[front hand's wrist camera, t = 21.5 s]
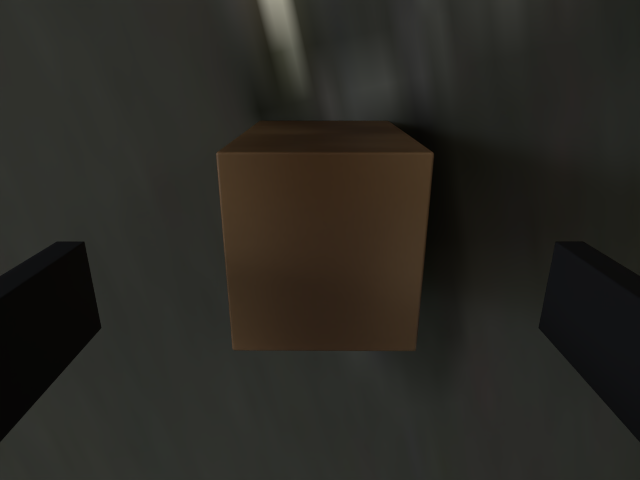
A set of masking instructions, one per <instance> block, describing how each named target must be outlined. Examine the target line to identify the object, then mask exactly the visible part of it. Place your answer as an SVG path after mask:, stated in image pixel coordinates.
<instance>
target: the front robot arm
mask: <svg viewBox="0 0 640 480" xmlns="http://www.w3.org/2000/svg"><path fill="white" fill-rule="evenodd" d="M100 329H101V323H100V318H99V313H98V308H97V303H96V298H95V293H94V288H93V283H92V278H91V273H90V268H89V263H88V258H87V253H86V248H85V243H84V242H55V243H54V244H52V245H51V246H49V247H47V248H46V249H44V250H42V251H41V252H39V253H37V254H36V255H34V256H32V257H31V258H29V259H28V260H26V261H24V262H23V263H21V264H19V265H18V266H16V267H14V268H13V269H11V270H10V271H8V272H6V273H5V274H3V275H1V276H0V442H1V440H2V439H3V438H4V437H5V436H6V435H7V434H8V433H9V431H10V430H11V429H12V428H13V427H14V426H15V425H16V424H17V422H18V421H19V420H20V419H21V418H22V417H23V416H24V415H25V413H26V412H27V411H28V410H29V409H30V408H31V407H32V406H33V404H34V403H35V402H36V401H37V400H38V399H39V398H40V396H41V395H42V394H43V393H44V392H45V391H46V390H47V389H48V387H49V386H50V385H51V384H52V383H53V382H54V381H55V380H56V378H57V377H58V376H59V375H60V374H61V373H62V372H63V371H64V369H65V368H66V367H67V366H68V365H69V364H70V363H71V362H72V360H73V359H74V358H75V357H76V356H77V355H78V354H79V352H80V351H81V350H82V349H83V348H84V347H85V346H86V345H87V343H88V342H89V341H90V340H91V339H92V338H93V337H94V336H95V334H96V333H97V332H98V331H99V330H100ZM539 329H540V330H541V331H542V332H543V333H544V334H545V336H546V337H547V338H548V339H549V340H550V341H551V342H552V343H553V345H554V346H555V347H556V348H557V349H558V350H559V351H560V352H561V354H562V355H563V356H564V357H565V358H566V359H567V360H568V362H569V363H570V364H571V365H572V366H573V367H574V368H575V369H576V371H577V372H578V373H579V374H580V375H581V376H582V377H583V378H584V380H585V381H586V382H587V383H588V384H589V385H590V386H591V387H592V389H593V390H594V391H595V392H596V393H597V394H598V395H599V396H600V398H601V399H602V400H603V401H604V402H605V403H606V404H607V406H608V407H609V408H610V409H611V410H612V411H613V412H614V413H615V415H616V416H617V417H618V418H619V419H620V420H621V421H622V422H623V424H624V425H625V426H626V427H627V428H628V429H629V430H630V431H631V433H632V434H633V435H634V436H635V437H636V438H637V439H638V440H639V442H640V276H639V275H637V274H635V273H634V272H632V271H630V270H629V269H627V268H626V267H624V266H622V265H621V264H619V263H617V262H616V261H614V260H612V259H611V258H609V257H608V256H606V255H604V254H603V253H601V252H599V251H598V250H596V249H594V248H593V247H591V246H589V245H588V244H586V243H585V242H556V243H555V248H554V253H553V258H552V263H551V268H550V273H549V278H548V283H547V288H546V293H545V298H544V303H543V308H542V313H541V318H540V323H539Z"/></svg>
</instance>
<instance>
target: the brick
mask: <svg viewBox="0 0 640 480" xmlns="http://www.w3.org/2000/svg"><path fill="white" fill-rule="evenodd" d="M216 157H217V169H218V181H219V193H220V205H221V217H222V229H223V240H224V252H225V264H226V276H227V288H228V300H229V312H230V324H231V335H232V347H233V350H299V351H415V350H416V345H417V334H418V323H419V312H420V301H421V291H422V280H423V269H424V258H425V247H426V237H427V226H428V215H429V204H430V193H431V183H432V172H433V161H434V153H433V152H432V151H430V150H429V149H427V148H426V147H425V146H423V145H422V144H420V143H419V142H418V141H416V140H415V139H413V138H412V137H410V136H409V135H408V134H406V133H405V132H403V131H402V130H401V129H399V128H398V127H396V126H395V125H393V124H392V123H391V122H389V121H259V122H258V123H256V124H255V125H254V126H252V127H251V128H250V129H248V130H247V131H246V132H244V133H243V134H241V135H240V136H239V137H237V138H236V139H235V140H233V141H232V142H231V143H229V144H228V145H226V146H225V147H224V148H222V149H221V150H220V151H218V152H217V154H216Z"/></svg>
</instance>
